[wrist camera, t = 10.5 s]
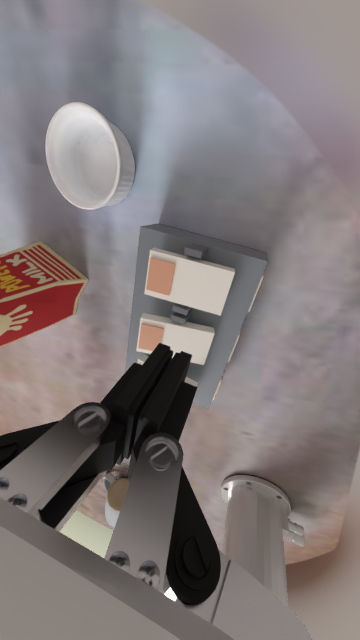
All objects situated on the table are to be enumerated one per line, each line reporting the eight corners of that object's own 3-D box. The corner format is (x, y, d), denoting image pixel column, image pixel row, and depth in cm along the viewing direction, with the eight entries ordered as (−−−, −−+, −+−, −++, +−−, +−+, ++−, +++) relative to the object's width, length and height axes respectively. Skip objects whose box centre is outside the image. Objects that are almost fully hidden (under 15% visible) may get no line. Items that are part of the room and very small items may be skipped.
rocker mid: (213, 327, 25) (214, 334, 24) (203, 358, 27) (203, 366, 26) (143, 312, 25) (140, 318, 23) (138, 344, 27) (135, 352, 26)
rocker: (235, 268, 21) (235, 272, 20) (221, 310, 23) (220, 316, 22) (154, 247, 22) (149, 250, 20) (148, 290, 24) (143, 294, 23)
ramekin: (87, 214, 29) (62, 215, 26) (63, 131, 26) (30, 118, 22) (147, 202, 26) (129, 201, 23) (129, 105, 23) (104, 85, 19)
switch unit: (269, 253, 25) (272, 268, 18) (216, 387, 35) (206, 425, 29) (158, 223, 27) (128, 228, 21) (139, 357, 37) (115, 386, 31)
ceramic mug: (143, 482, 55) (126, 519, 49) (141, 498, 59) (126, 534, 53) (106, 464, 57) (85, 497, 51) (106, 481, 61) (87, 513, 55)
